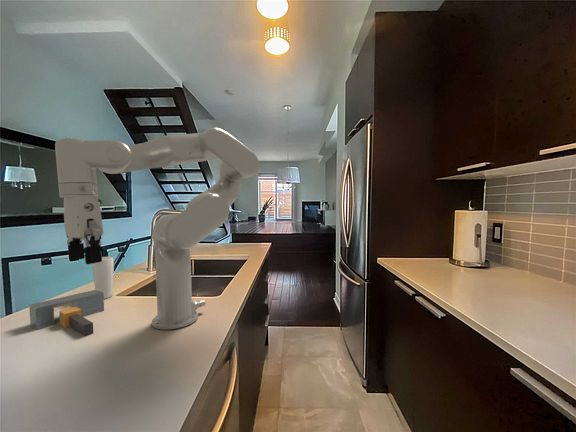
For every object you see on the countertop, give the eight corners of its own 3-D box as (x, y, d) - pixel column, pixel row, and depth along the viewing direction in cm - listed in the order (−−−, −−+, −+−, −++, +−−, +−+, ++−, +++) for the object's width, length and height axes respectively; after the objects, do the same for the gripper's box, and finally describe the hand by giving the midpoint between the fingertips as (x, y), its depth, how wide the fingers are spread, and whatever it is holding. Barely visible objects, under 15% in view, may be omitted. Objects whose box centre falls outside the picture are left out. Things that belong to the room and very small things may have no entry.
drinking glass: (112, 298, 103) (111, 259, 102) (91, 301, 101) (89, 260, 100) (116, 293, 109) (115, 256, 109) (96, 296, 107) (94, 257, 106)
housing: (96, 306, 95) (95, 289, 95) (104, 310, 91) (103, 292, 91) (30, 324, 81) (29, 304, 81) (36, 329, 78) (35, 308, 77)
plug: (74, 318, 85) (74, 306, 85) (97, 332, 75) (96, 317, 75) (58, 323, 82) (57, 310, 82) (80, 338, 72) (79, 323, 72)
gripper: (112, 189, 65) (118, 261, 66) (82, 193, 75) (87, 255, 76) (75, 189, 59) (81, 268, 60) (47, 193, 69) (53, 261, 70)
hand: (85, 261), depth 68 cm, fingers open, 9 cm apart
